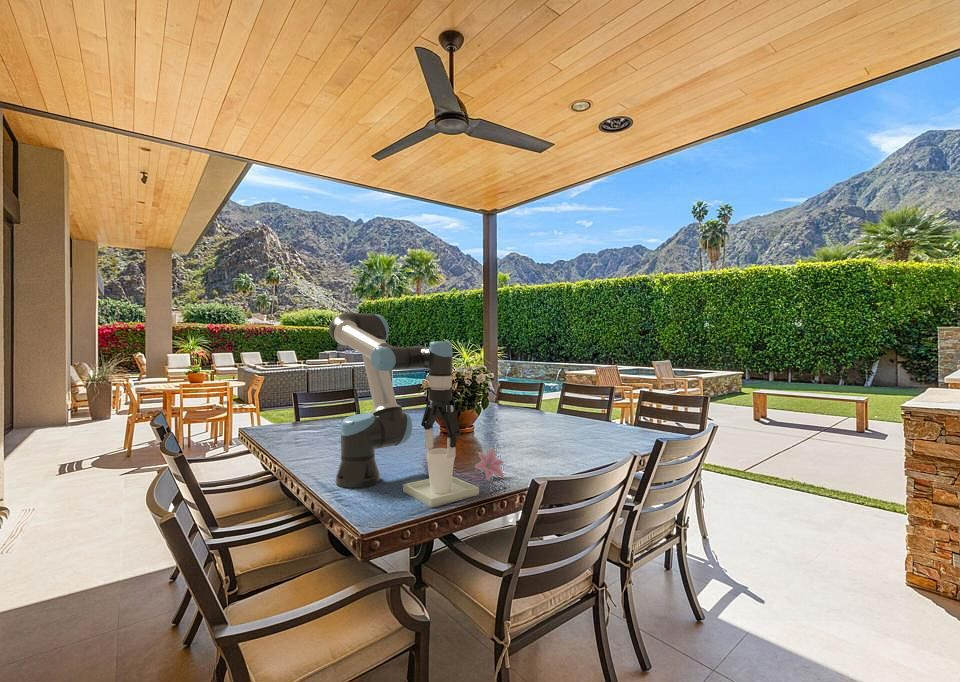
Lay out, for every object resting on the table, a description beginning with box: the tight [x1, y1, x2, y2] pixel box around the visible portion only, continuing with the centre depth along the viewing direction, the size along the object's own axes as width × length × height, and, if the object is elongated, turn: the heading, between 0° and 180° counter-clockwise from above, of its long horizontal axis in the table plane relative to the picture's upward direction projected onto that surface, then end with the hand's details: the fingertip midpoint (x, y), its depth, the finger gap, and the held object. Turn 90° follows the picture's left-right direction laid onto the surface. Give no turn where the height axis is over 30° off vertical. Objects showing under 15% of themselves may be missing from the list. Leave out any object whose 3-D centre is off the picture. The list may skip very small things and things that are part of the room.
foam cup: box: [425, 447, 456, 494], centre depth 151 cm, size 10×9×13 cm
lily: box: [474, 446, 505, 481], centre depth 170 cm, size 12×12×10 cm
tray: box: [402, 475, 480, 508], centre depth 151 cm, size 18×18×2 cm
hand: (439, 452), depth 152 cm, fingers open, 13 cm apart
